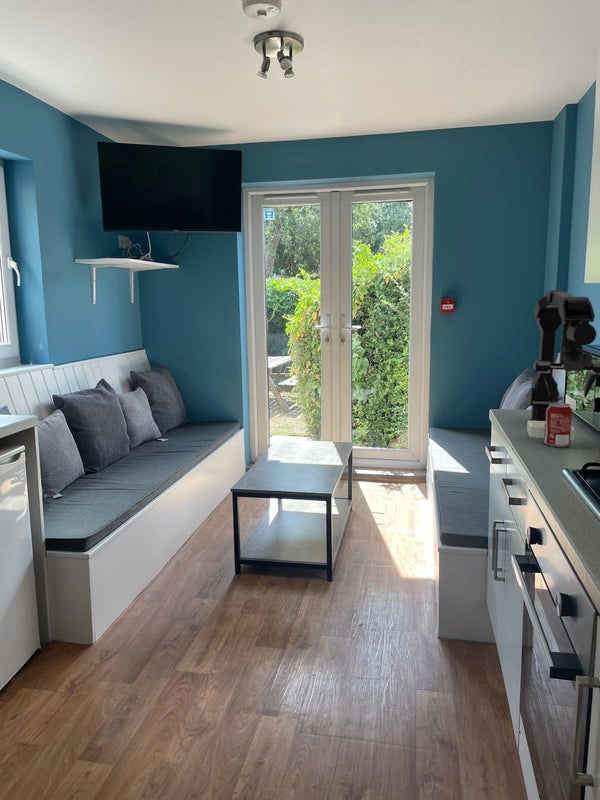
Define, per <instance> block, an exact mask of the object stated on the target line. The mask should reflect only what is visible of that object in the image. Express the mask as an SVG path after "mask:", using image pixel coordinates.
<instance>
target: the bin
mask: <svg viewBox="0 0 600 800" xmlns="http://www.w3.org/2000/svg"><path fill="white" fill-rule="evenodd" d="M545 422H546V421H529V420H527V423H526V425H527V426H526V432H527V433H528V436H529V437H530V438H538V439H544V436H545V427H544V425H545ZM574 435H575V429H574V427H573V426H572V425H571V435H570V441H571V442H572V441H574Z"/></svg>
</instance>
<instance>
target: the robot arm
mask: <svg viewBox="0 0 600 800" xmlns="http://www.w3.org/2000/svg"><path fill="white" fill-rule="evenodd" d="M595 317H596V314H595V311H594V307H593V304H592V302H591V300H590V298H589V297H588V296H573V295H571V294H570V293H568V292H567V291H566V290H564V289H557V290H556V289H552V290H551V289H550V290H548V291H547V293H546V295H544V297H542V298H540V299H539V300H538V301H537V303H536V306H535V308H534V318H535V323H536V326H537V327H538V329H539V330H540V333H539V334H540V335H539V348H538V349H539V350H538V359H536V360H535V361H534V362H533V370H534V371H535V372H537V375H536V376H535V377H534V379H533V380H532V381H531V387H530V388H529V390H528V393H527V396H526V405H528V406H529V407H531V415H530V418H529V419H528V421H546V409H547V408H548V407H549V403H558V401H559V396H560V392H559V389H558V382H557V381H556V380H555V378H554V376H553V375H554V374H553V373H554V370H562V371H563V370H564V371H566V372H580V373H581V372H583V371H587V373H586V379H585V384H584V385H585V386H584V393H583V395H584V396H583V397H584V398H587V397H588V395H589V393H590V390H591V388H592V386H593V384H594V383H595V381H596V380H597V378H599V377H600V360H599V361H596V360H595V361H594V360H593V353H588V352H587V353H584V352H583V349H584V348H583V347H584V346H588V345H591V344H592V343H593V342H594V341H595V340H596V338H597V331H596V328H595V327H594V326H593V325H592V324H590V323H593V322H594V321H595ZM560 327H561V334H560V335H561V336H560V337H561V338H560V350H559V360H558V361H559V362H554V359H555V347H556V333H557V331H558V329H559V328H560Z"/></svg>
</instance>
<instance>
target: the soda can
mask: <svg viewBox="0 0 600 800" xmlns="http://www.w3.org/2000/svg"><path fill="white" fill-rule="evenodd" d="M572 419H573V410H572V409H571V404H570V403H565V402H557V403H549V407H548V408H547V409H546V422H545V436H544V438H543V439H544V440H543V443H544V444H546V445H547V446H549V445H550V447H553V448H566V447H568V446H570V445H571V444H570V443H571V440H570V435H571V426H572V422H573V421H572Z"/></svg>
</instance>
